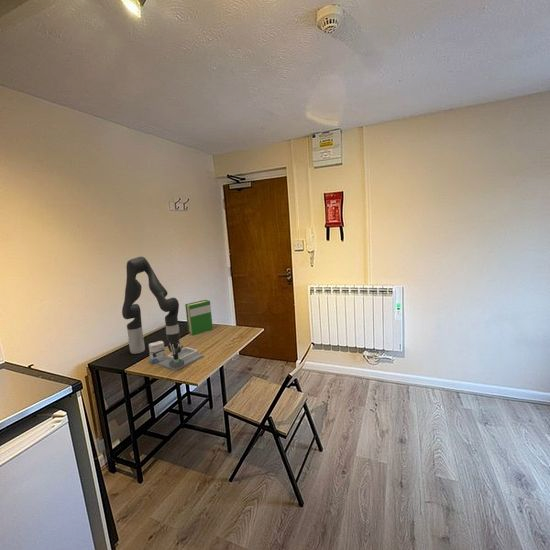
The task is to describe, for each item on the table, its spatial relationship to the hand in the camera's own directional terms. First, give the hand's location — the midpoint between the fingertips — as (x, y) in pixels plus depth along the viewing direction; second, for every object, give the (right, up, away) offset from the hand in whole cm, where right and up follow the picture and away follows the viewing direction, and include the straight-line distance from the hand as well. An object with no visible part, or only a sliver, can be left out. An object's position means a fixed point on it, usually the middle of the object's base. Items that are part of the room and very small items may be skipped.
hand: (176, 359), depth 181 cm
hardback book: (0, +5, +62) cm, 62 cm away
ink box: (-15, -4, +12) cm, 20 cm away
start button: (0, -3, +1) cm, 4 cm away
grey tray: (0, -4, +10) cm, 10 cm away
